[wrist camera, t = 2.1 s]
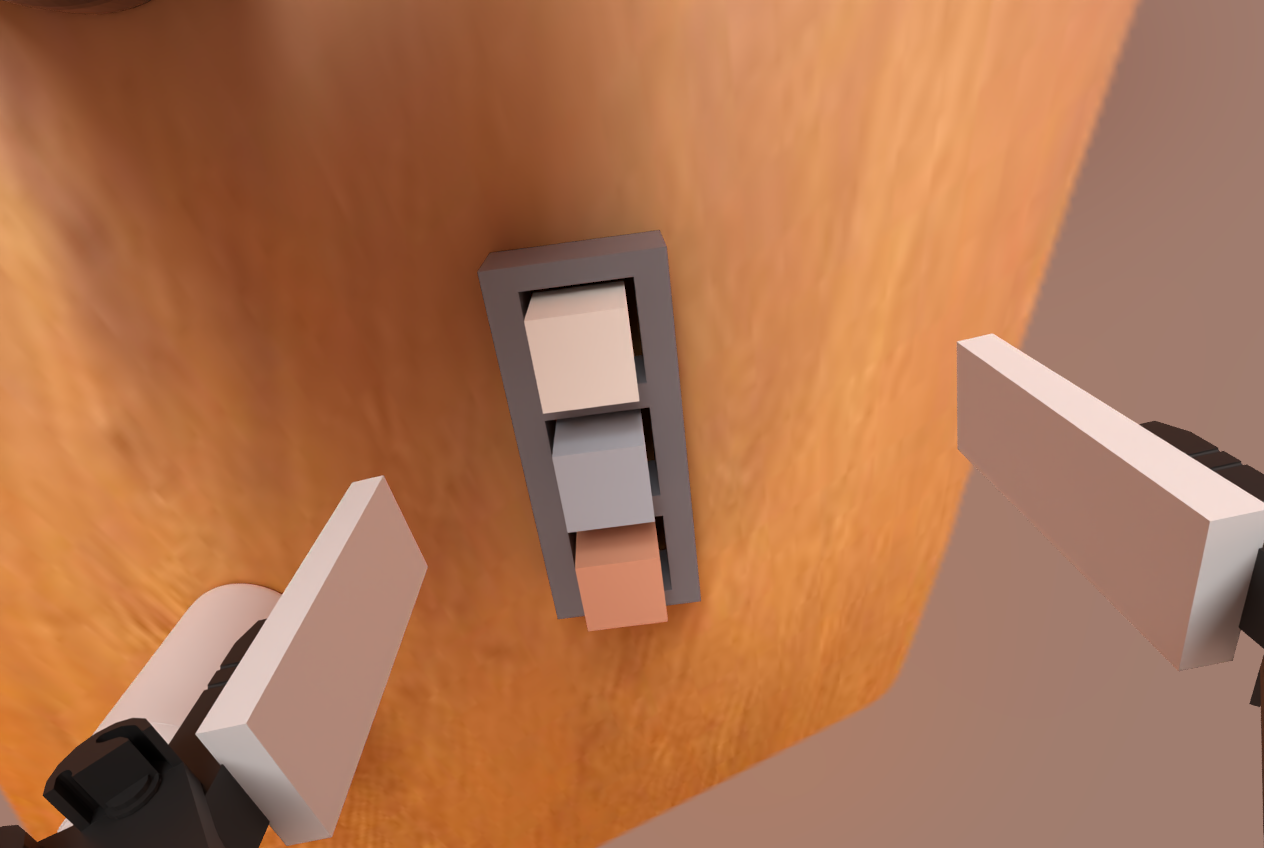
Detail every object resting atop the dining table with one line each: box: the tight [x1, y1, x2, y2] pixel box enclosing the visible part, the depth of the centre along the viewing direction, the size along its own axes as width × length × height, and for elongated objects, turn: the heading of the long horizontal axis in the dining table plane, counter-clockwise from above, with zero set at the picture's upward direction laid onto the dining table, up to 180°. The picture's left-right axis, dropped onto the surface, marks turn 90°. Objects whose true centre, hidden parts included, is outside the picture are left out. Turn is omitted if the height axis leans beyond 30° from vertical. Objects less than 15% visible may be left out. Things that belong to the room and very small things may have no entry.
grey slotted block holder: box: [477, 230, 701, 619], centre depth 38 cm, size 9×22×4 cm, turn 7°
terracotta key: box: [575, 522, 668, 631], centre depth 38 cm, size 5×5×4 cm
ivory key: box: [524, 281, 639, 414], centre depth 32 cm, size 5×5×4 cm
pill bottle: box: [58, 583, 282, 832], centre depth 39 cm, size 8×8×15 cm
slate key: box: [552, 409, 655, 533], centre depth 35 cm, size 5×5×4 cm
